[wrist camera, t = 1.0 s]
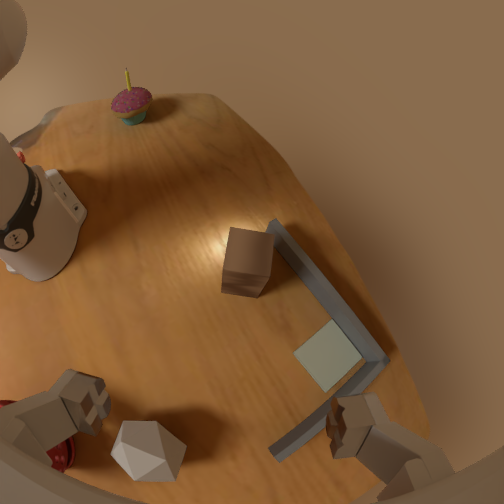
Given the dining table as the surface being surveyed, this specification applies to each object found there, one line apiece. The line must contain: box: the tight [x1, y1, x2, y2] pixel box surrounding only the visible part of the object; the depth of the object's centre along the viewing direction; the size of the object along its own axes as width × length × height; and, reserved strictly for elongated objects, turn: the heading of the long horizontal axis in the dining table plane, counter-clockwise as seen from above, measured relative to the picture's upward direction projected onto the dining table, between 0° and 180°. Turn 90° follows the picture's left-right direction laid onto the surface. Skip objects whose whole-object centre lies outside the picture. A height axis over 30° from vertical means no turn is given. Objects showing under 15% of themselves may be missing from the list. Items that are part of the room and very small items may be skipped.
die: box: [111, 421, 187, 481], centre depth 25 cm, size 8×9×10 cm
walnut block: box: [221, 227, 275, 298], centre depth 34 cm, size 5×5×10 cm
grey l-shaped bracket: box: [266, 218, 390, 463], centre depth 34 cm, size 26×20×4 cm
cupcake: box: [111, 68, 153, 125], centre depth 43 cm, size 9×8×12 cm
